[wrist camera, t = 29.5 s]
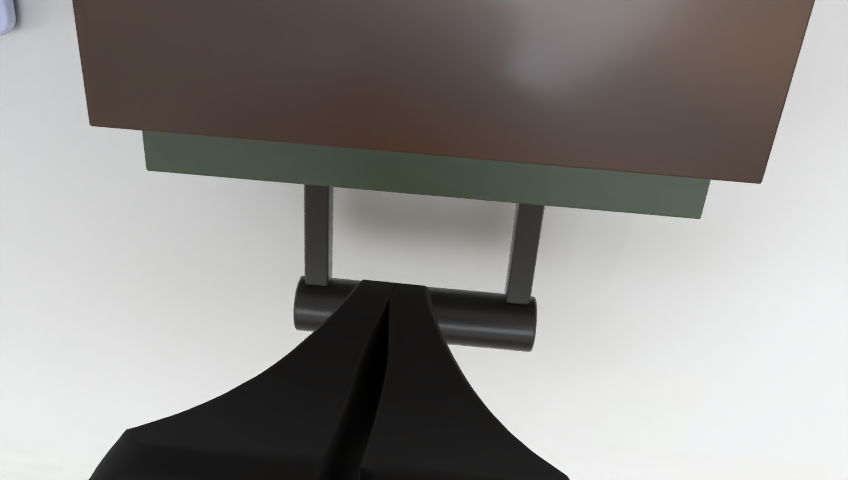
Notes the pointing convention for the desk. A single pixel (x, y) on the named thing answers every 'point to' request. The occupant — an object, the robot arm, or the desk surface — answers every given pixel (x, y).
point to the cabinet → (457, 77)
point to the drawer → (438, 176)
